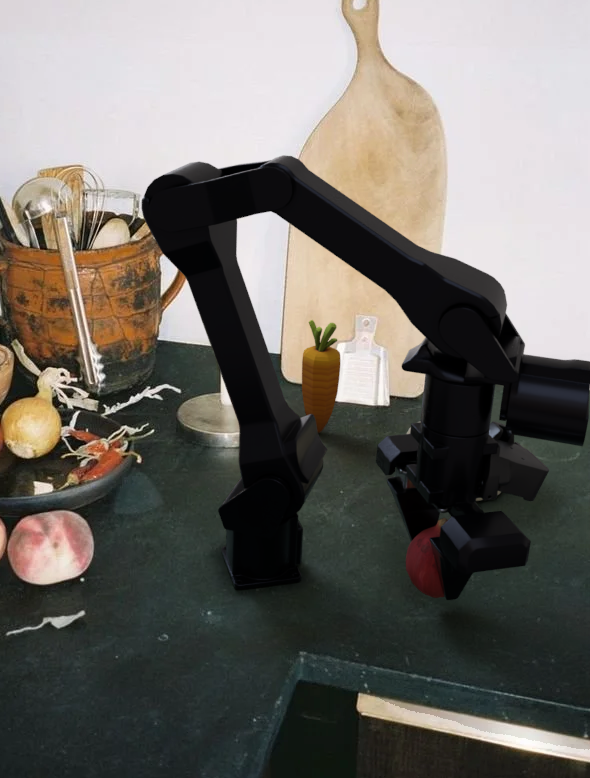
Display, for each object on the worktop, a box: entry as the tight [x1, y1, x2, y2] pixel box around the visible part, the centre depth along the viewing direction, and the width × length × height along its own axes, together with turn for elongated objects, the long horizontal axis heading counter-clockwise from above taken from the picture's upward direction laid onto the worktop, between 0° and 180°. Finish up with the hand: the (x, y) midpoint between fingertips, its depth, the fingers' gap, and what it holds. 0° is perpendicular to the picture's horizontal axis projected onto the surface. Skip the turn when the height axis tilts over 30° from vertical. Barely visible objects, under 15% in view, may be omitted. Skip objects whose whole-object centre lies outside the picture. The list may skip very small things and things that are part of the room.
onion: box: [405, 517, 449, 599], centre depth 84 cm, size 6×6×8 cm
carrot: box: [301, 319, 341, 434], centre depth 114 cm, size 5×5×15 cm
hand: (436, 578), depth 84 cm, fingers closed on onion, 6 cm apart
